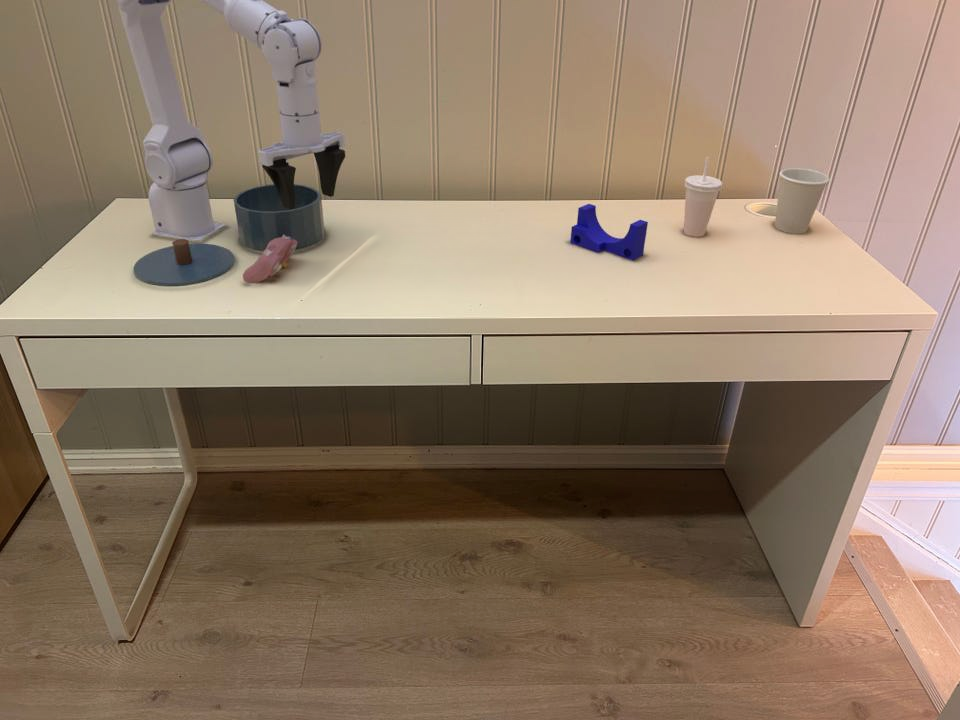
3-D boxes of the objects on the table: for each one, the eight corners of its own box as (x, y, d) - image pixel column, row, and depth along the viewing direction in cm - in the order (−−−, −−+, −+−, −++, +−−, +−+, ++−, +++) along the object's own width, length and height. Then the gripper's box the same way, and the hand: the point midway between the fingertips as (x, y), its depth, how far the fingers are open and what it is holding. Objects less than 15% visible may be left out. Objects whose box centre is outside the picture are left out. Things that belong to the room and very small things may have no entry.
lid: (113, 280, 112) (105, 253, 109) (176, 244, 124) (170, 219, 122) (197, 295, 108) (191, 268, 106) (253, 256, 120) (249, 231, 118)
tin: (223, 248, 123) (216, 205, 119) (268, 219, 135) (263, 179, 131) (298, 260, 120) (293, 217, 116) (338, 229, 131) (335, 189, 127)
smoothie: (673, 236, 131) (686, 158, 124) (679, 224, 137) (692, 149, 129) (709, 241, 129) (725, 163, 122) (714, 229, 135) (729, 153, 127)
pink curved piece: (265, 296, 112) (279, 261, 108) (238, 281, 111) (252, 245, 107) (292, 270, 120) (306, 236, 116) (267, 256, 119) (280, 221, 116)
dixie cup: (815, 239, 132) (830, 185, 126) (766, 232, 134) (779, 178, 129) (814, 223, 138) (828, 171, 133) (767, 216, 141) (780, 165, 135)
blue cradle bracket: (570, 242, 128) (573, 210, 125) (585, 235, 131) (588, 203, 128) (628, 263, 121) (632, 229, 118) (642, 255, 124) (647, 221, 121)
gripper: (274, 125, 100) (286, 220, 107) (355, 107, 109) (361, 195, 117) (244, 116, 104) (258, 208, 111) (324, 100, 113) (332, 185, 120)
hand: (309, 201), depth 114 cm, fingers open, 7 cm apart
